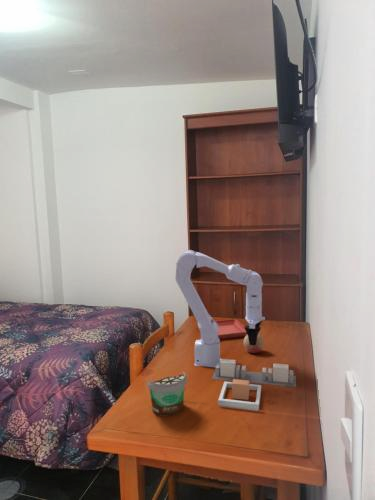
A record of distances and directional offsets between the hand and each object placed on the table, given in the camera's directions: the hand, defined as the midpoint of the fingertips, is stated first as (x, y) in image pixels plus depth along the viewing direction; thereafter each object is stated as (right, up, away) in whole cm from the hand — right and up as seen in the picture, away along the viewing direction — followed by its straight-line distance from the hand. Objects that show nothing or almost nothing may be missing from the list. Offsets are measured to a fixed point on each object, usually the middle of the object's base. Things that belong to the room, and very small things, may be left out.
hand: (253, 341), depth 140 cm
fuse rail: (-2, -11, -10) cm, 15 cm away
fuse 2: (+7, -10, -12) cm, 17 cm away
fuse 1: (-10, -10, -7) cm, 16 cm away
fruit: (+2, -8, +13) cm, 15 cm away
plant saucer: (-7, -5, +37) cm, 38 cm away
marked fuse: (-8, -12, -22) cm, 27 cm away
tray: (-8, -13, -22) cm, 27 cm away
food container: (-29, -14, -29) cm, 44 cm away
